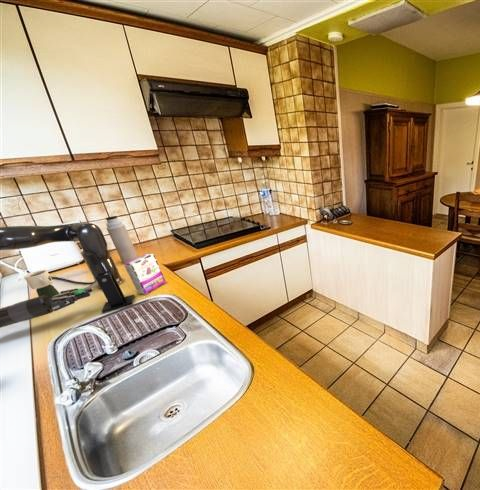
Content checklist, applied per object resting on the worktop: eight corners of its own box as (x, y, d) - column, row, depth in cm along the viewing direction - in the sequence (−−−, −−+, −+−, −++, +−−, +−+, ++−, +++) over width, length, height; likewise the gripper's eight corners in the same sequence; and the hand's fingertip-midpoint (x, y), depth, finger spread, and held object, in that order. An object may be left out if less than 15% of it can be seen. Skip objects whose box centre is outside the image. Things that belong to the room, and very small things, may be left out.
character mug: (65, 295, 128) (50, 272, 123) (43, 303, 123) (28, 279, 117) (56, 291, 133) (42, 268, 128) (35, 298, 127) (20, 275, 122)
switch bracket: (102, 313, 113) (85, 281, 107) (106, 304, 119) (90, 274, 113) (132, 304, 118) (117, 273, 112) (134, 296, 124) (120, 266, 118)
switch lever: (79, 300, 109) (70, 295, 107) (81, 296, 112) (73, 291, 110) (111, 279, 113) (103, 274, 111) (113, 276, 116) (105, 271, 114)
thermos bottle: (133, 257, 168) (114, 214, 157) (142, 258, 165) (123, 215, 154) (119, 262, 161) (98, 218, 150) (128, 264, 158) (107, 219, 147)
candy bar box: (158, 281, 136) (146, 253, 129) (166, 282, 135) (154, 253, 128) (137, 294, 126) (122, 263, 119) (145, 294, 125) (131, 264, 118)
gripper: (17, 309, 96) (81, 291, 105) (33, 293, 107) (89, 277, 115) (30, 325, 99) (91, 306, 108) (44, 307, 110) (98, 291, 119)
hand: (90, 291), depth 112 cm, fingers closed on switch lever, 3 cm apart
